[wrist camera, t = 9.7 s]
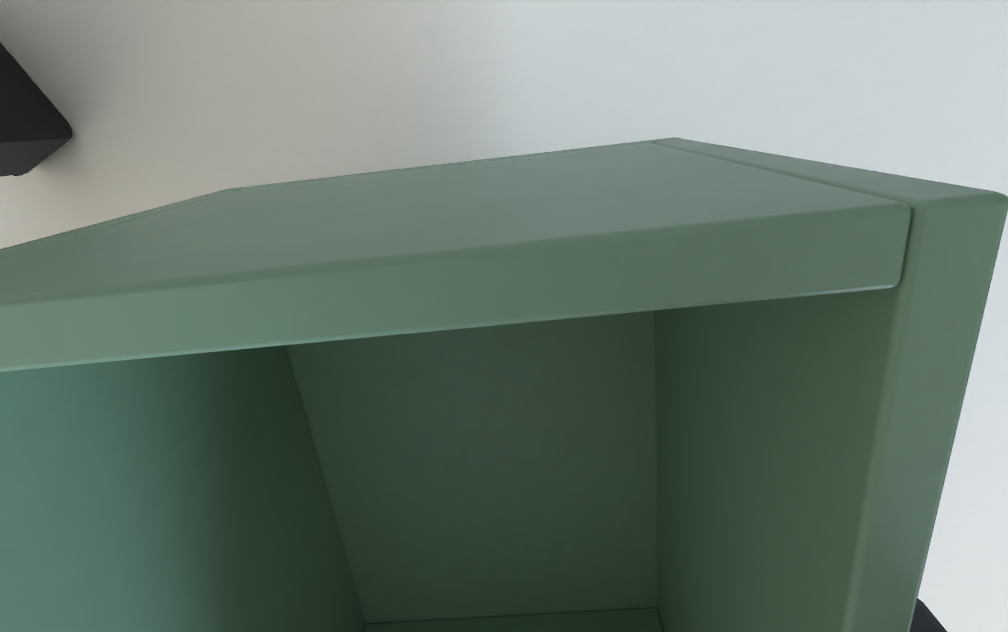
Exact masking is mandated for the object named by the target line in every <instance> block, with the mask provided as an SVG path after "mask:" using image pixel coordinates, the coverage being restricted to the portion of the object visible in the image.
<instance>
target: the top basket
mask: <svg viewBox="0 0 1008 632" xmlns="http://www.w3.org/2000/svg"><path fill="white" fill-rule="evenodd" d="M1007 210H1008V197H1007V196H1006V195H1004V194H1001V193H998V192H994V191H989V190H983V189H977V188H971V187H965V186H959V185H953V184H947V183H941V182H935V181H929V180H923V179H917V178H911V177H905V176H899V175H893V174H888V173H882V172H876V171H870V170H864V169H858V168H852V167H846V166H840V165H834V164H828V163H822V162H816V161H810V160H804V159H798V158H792V157H786V156H781V155H775V154H769V153H763V152H757V151H751V150H745V149H739V148H733V147H727V146H721V145H715V144H709V143H703V142H697V141H691V140H685V139H680V138H666V139H657V140H649V141H640V142H631V143H623V144H614V145H605V146H597V147H588V148H579V149H571V150H562V151H553V152H545V153H536V154H527V155H519V156H510V157H501V158H493V159H484V160H475V161H467V162H458V163H449V164H440V165H432V166H423V167H414V168H406V169H397V170H388V171H380V172H371V173H362V174H354V175H345V176H336V177H328V178H319V179H310V180H302V181H293V182H284V183H276V184H267V185H258V186H250V187H241V188H232V189H226V190H222V191H218V192H215V193H211V194H207V195H203V196H200V197H196V198H192V199H188V200H185V201H181V202H177V203H173V204H169V205H166V206H162V207H158V208H154V209H151V210H147V211H143V212H139V213H136V214H132V215H128V216H124V217H120V218H117V219H113V220H109V221H105V222H102V223H98V224H94V225H90V226H86V227H83V228H79V229H75V230H71V231H68V232H64V233H60V234H56V235H53V236H49V237H45V238H41V239H37V240H34V241H30V242H26V243H22V244H19V245H15V246H11V247H7V248H4V249H0V632H909V631H910V627H911V622H912V618H913V614H914V610H915V605H916V601H917V597H918V592H919V588H920V584H921V580H922V575H923V571H924V567H925V562H926V558H927V554H928V549H929V545H930V541H931V537H932V532H933V528H934V524H935V519H936V515H937V511H938V507H939V502H940V498H941V494H942V489H943V485H944V481H945V476H946V472H947V468H948V464H949V459H950V455H951V451H952V446H953V442H954V438H955V434H956V429H957V425H958V421H959V416H960V412H961V408H962V403H963V399H964V395H965V391H966V386H967V382H968V378H969V373H970V369H971V365H972V361H973V356H974V352H975V348H976V343H977V339H978V335H979V331H980V326H981V322H982V318H983V313H984V309H985V305H986V300H987V296H988V292H989V288H990V283H991V279H992V275H993V270H994V266H995V262H996V258H997V253H998V249H999V245H1000V240H1001V236H1002V232H1003V227H1004V223H1005V219H1006V215H1007Z"/></svg>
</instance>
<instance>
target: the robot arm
mask: <svg viewBox="0 0 1008 632" xmlns="http://www.w3.org/2000/svg"><path fill="white" fill-rule="evenodd" d="M909 632H947V631H946V630H945V629H944V627H943V626H942V625H941V624H940V623H939V621H938V620H937V619H936V618H935V616H934V615H933V614H932V613H931V612H930V610H929V609H928V608H927V607H926V605H925V604H924V603H923V602H922V601H921V600H919V599H918V598H917V601H916V605H915V610H914V614H913V618H912V622H911V627H910V631H909Z"/></svg>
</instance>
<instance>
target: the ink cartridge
mask: <svg viewBox="0 0 1008 632" xmlns="http://www.w3.org/2000/svg"><path fill="white" fill-rule="evenodd" d="M71 137H72V130H71V127H70V125H69V124H68V122H67V121H66V120H65V118H64V117H63V116H62V115H61V114H60V113H59V111H58V110H57V109H56V108H55V107H54V105H53V104H52V103H51V102H50V101H49V100H48V98H47V97H46V96H45V95H44V94H43V93H42V91H41V90H40V89H39V88H38V87H37V86H36V84H35V83H34V82H33V81H32V80H31V78H30V77H29V76H28V75H27V74H26V73H25V71H24V70H23V69H22V68H21V67H20V66H19V64H18V63H17V62H16V61H15V60H14V59H13V57H12V56H11V55H10V54H9V53H8V52H7V50H6V49H5V48H4V47H3V46H2V45H1V43H0V176H8V175H14V176H20V175H23V174H25V173H28V172H29V171H31V170H32V169H33V168H34V167H36V166H37V165H38V164H39V163H41V162H42V161H43V160H44V159H46V158H47V157H48V156H49V155H51V154H52V153H53V152H54V151H56V150H57V149H58V148H59V147H61V146H62V145H63V144H64V143H66V142H67V141H68V140H69V139H71Z"/></svg>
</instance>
